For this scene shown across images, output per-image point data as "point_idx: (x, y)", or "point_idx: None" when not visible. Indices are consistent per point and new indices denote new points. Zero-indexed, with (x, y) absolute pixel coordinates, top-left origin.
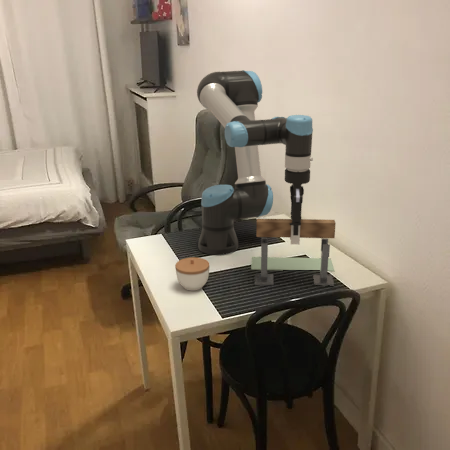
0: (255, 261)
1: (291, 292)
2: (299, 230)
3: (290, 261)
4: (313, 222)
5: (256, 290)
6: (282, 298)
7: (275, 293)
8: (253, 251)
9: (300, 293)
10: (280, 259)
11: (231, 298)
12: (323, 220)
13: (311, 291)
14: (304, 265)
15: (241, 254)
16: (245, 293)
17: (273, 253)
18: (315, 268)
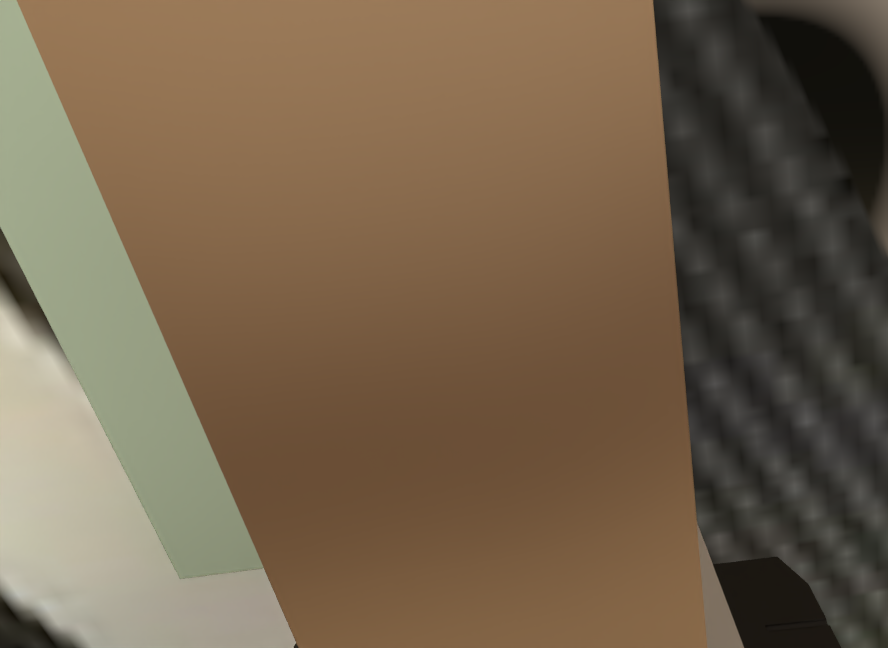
0: (251, 546)
1: (734, 204)
2: (732, 621)
3: (128, 305)
4: (648, 470)
5: (727, 459)
6: (855, 259)
7: (765, 325)
8: (67, 580)
9: (746, 121)
10: (128, 389)
11: (865, 575)
12: (188, 2)
13: (692, 18)
14: None
15: (159, 636)
16: (783, 515)
17: (23, 452)
18: None
